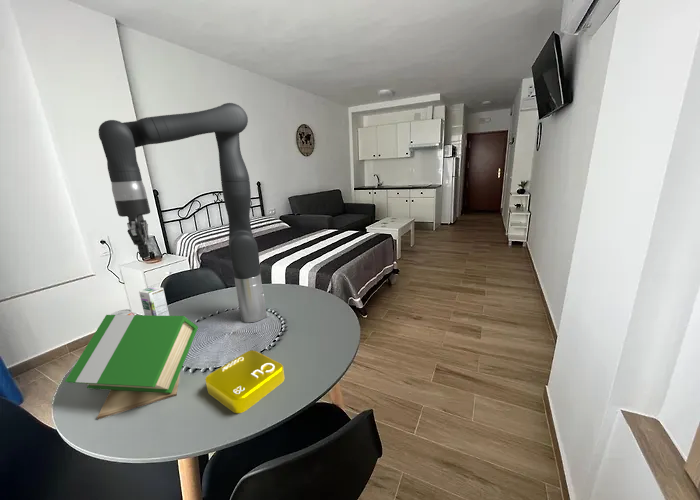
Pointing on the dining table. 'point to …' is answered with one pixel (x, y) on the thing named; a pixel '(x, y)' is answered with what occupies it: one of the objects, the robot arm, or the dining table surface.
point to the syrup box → (154, 301)
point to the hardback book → (135, 353)
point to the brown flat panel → (131, 400)
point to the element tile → (245, 380)
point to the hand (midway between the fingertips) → (145, 256)
